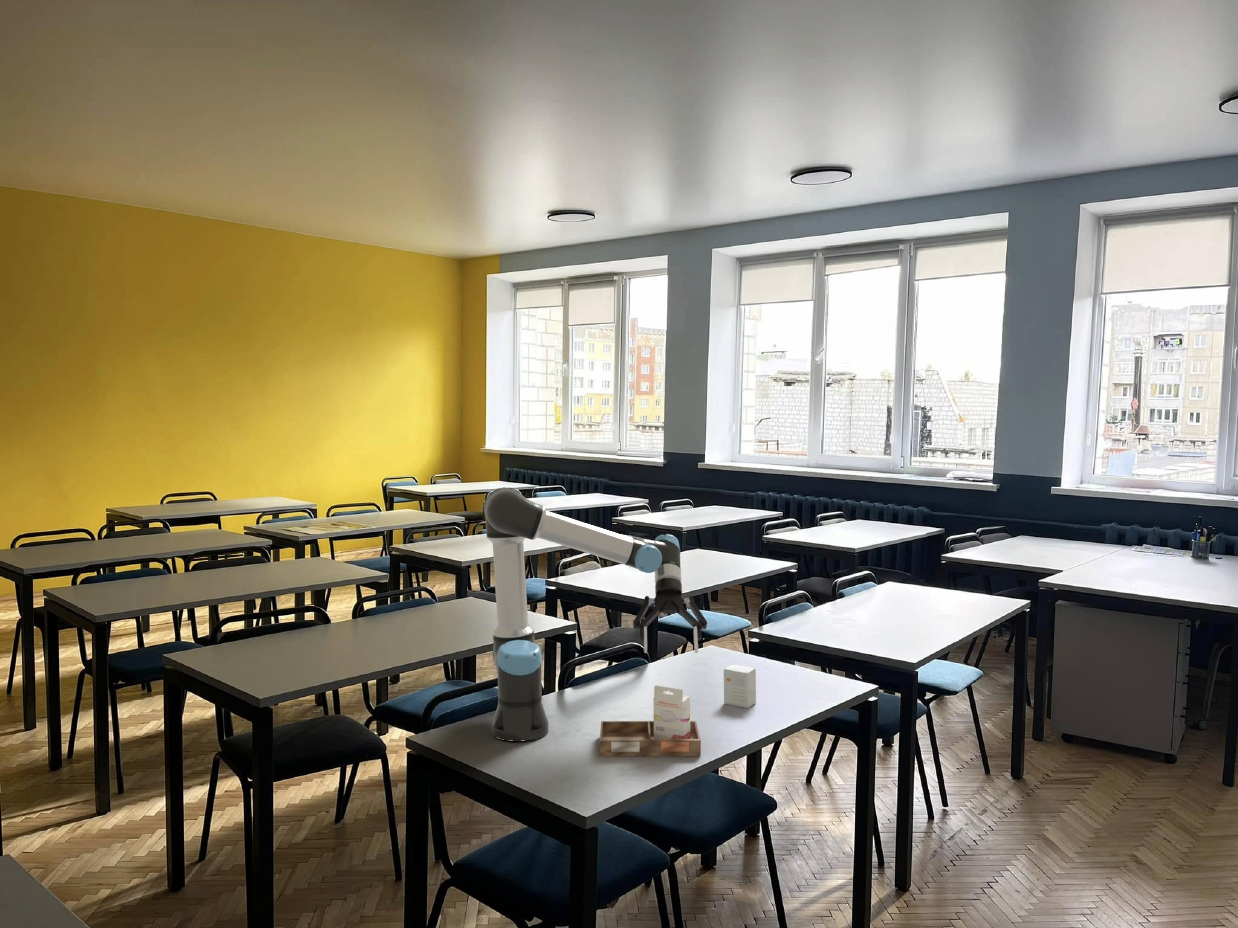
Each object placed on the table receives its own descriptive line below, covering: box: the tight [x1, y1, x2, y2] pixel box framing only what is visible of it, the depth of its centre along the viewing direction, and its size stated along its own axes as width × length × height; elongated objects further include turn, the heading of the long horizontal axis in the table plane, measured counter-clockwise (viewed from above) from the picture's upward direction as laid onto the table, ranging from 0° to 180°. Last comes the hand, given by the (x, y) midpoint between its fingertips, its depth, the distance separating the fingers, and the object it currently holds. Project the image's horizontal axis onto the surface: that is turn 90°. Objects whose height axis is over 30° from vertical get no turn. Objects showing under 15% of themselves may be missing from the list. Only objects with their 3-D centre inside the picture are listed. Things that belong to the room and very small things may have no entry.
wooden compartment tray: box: [599, 720, 702, 757], centre depth 215 cm, size 25×14×4 cm, turn 90°
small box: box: [723, 664, 757, 709], centre depth 247 cm, size 8×6×10 cm
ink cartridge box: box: [653, 685, 691, 739], centre depth 215 cm, size 9×5×15 cm, turn 62°
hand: (671, 650), depth 225 cm, fingers open, 13 cm apart
